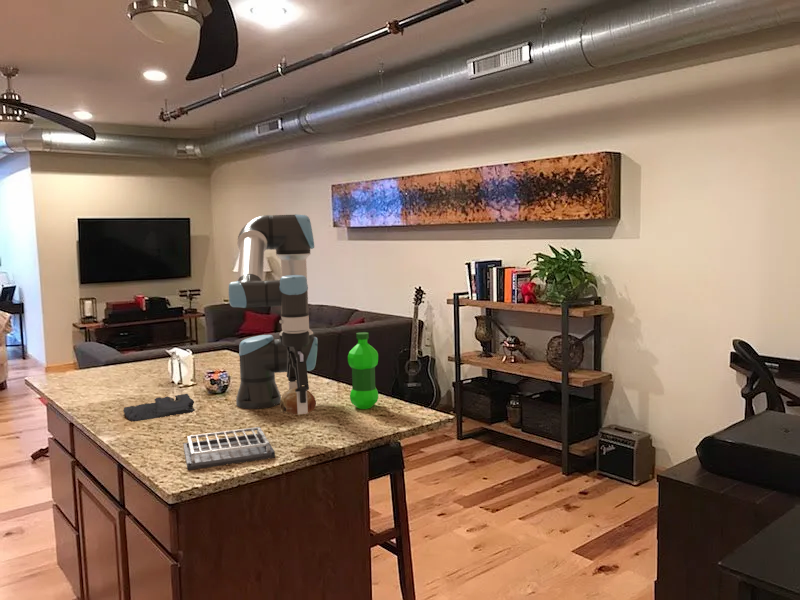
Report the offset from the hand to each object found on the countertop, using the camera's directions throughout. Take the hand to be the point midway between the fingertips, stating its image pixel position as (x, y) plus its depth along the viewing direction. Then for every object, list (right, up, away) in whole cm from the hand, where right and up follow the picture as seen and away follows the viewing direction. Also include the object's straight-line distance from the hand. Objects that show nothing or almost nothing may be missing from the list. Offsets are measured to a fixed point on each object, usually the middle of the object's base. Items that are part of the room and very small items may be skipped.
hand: (298, 408), depth 189 cm
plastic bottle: (+17, -5, +36) cm, 40 cm away
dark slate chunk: (-52, -7, +35) cm, 63 cm away
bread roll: (0, -1, 0) cm, 1 cm away
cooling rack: (-18, -11, -8) cm, 22 cm away
